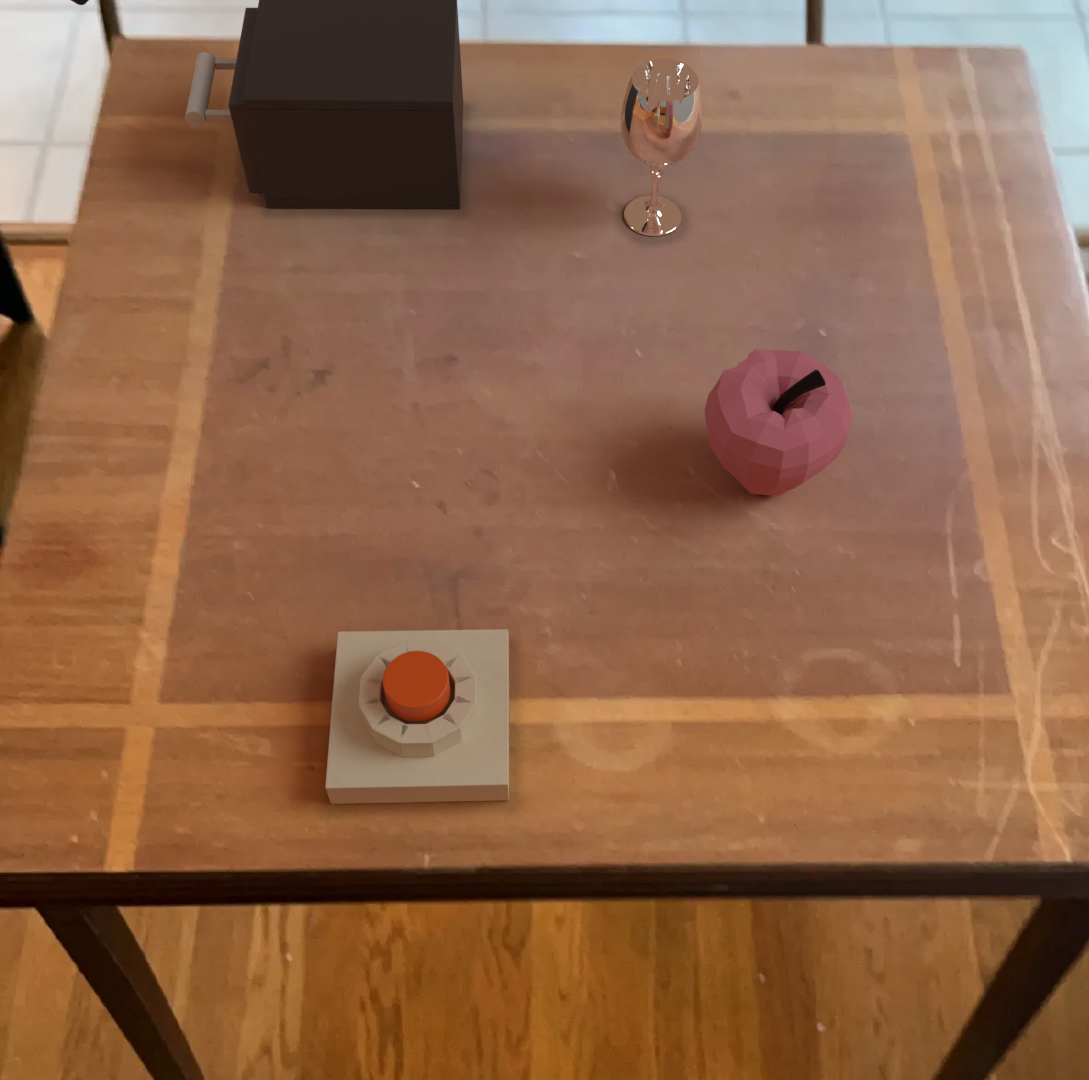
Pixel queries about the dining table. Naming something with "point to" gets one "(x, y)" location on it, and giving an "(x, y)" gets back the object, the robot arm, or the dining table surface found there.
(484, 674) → the control block
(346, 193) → the dark brown box
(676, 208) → the wineglass
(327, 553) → the dining table surface
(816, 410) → the apple
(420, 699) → the button
